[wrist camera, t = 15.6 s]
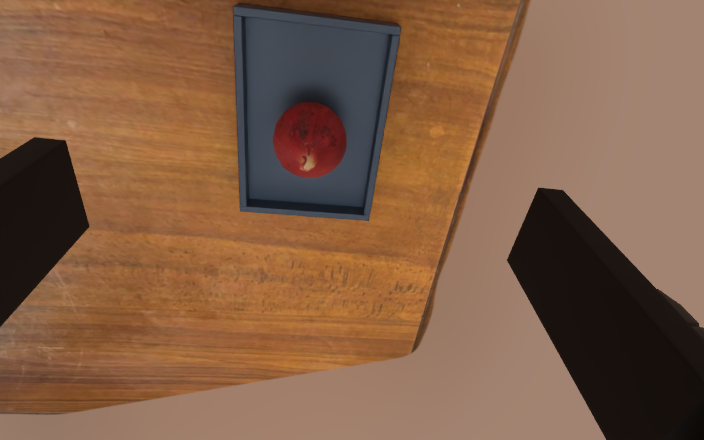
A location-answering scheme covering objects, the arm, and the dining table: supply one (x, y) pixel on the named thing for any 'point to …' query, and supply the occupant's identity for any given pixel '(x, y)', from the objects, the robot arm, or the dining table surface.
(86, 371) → the dining table surface
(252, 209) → the tray
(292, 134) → the onion
